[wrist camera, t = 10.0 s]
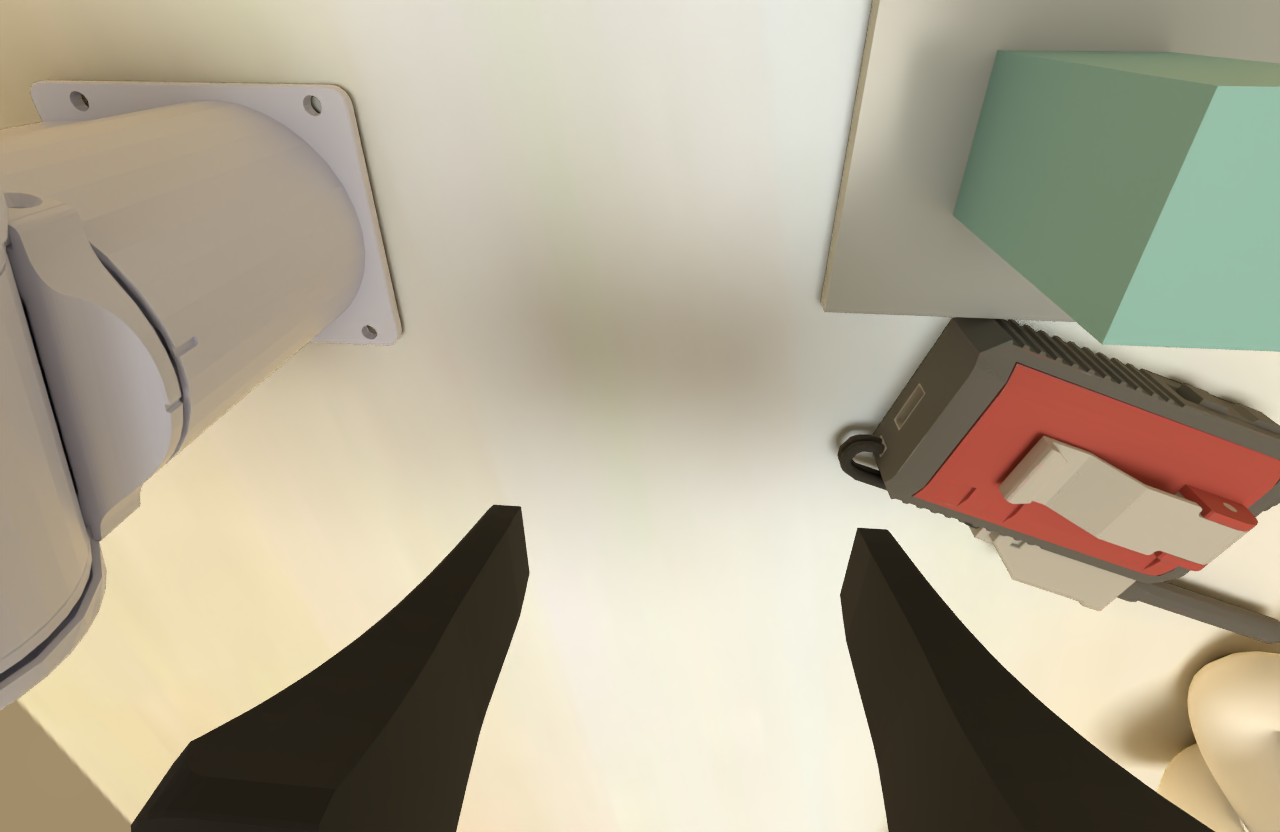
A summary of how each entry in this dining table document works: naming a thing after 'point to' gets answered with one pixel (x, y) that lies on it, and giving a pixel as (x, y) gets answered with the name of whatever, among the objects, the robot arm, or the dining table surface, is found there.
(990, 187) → the green block
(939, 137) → the ceramic tile
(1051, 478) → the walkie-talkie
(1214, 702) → the cream rounded sculpture
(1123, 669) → the dining table surface
